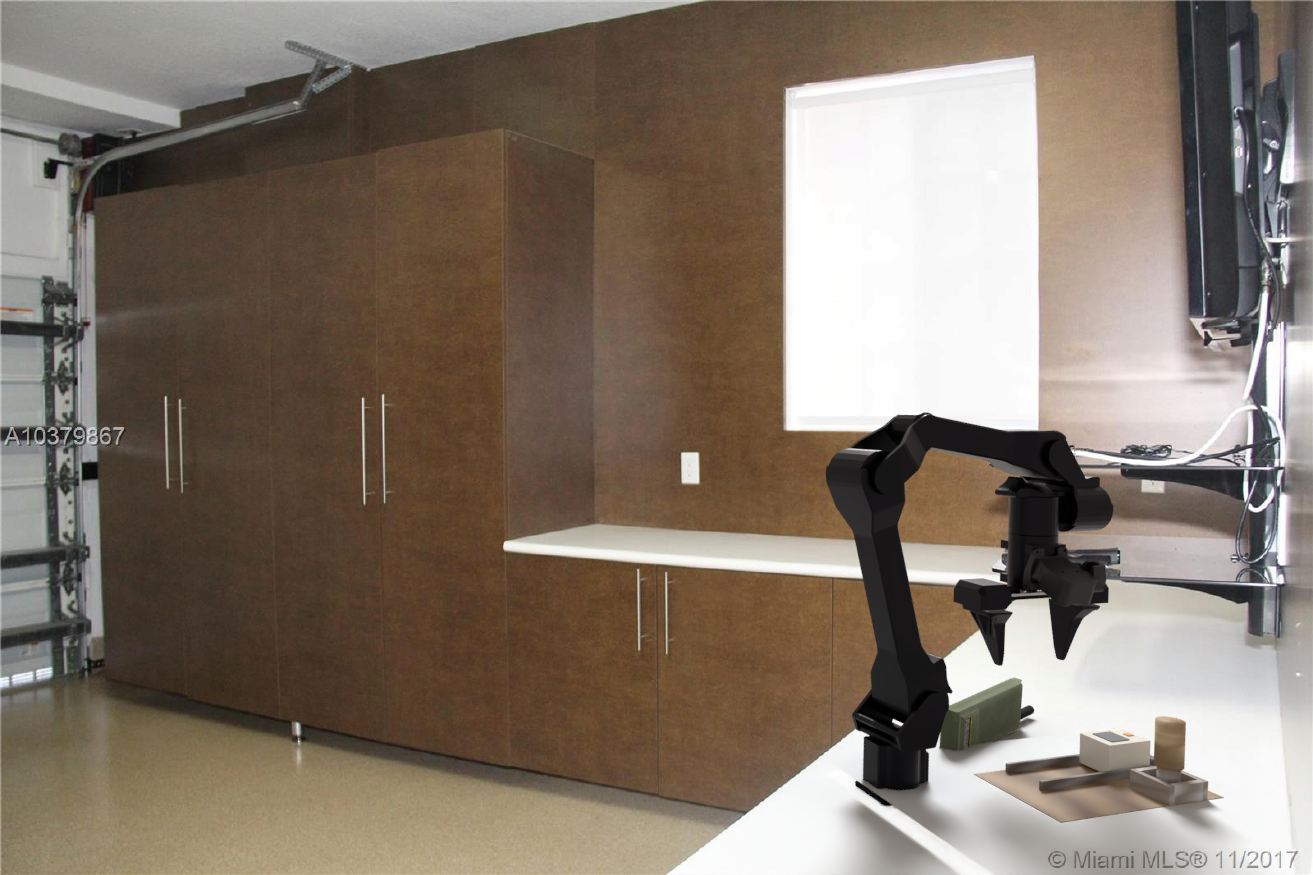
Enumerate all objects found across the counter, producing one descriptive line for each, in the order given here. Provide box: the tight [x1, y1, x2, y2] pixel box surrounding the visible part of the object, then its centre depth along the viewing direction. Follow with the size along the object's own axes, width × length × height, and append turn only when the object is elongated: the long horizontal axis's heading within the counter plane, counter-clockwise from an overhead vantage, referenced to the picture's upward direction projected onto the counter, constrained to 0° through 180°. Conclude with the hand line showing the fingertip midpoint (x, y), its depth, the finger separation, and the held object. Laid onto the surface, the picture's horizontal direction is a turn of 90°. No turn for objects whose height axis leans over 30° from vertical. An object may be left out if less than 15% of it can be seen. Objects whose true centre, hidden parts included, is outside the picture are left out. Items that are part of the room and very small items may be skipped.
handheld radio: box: [938, 677, 1035, 751], centre depth 132 cm, size 7×3×25 cm
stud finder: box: [1079, 727, 1151, 772], centre depth 117 cm, size 6×5×4 cm
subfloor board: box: [973, 753, 1224, 823], centre depth 111 cm, size 22×14×4 cm, turn 109°
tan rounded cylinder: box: [1153, 715, 1187, 784], centre depth 109 cm, size 3×3×8 cm
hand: (1029, 662), depth 120 cm, fingers open, 9 cm apart
